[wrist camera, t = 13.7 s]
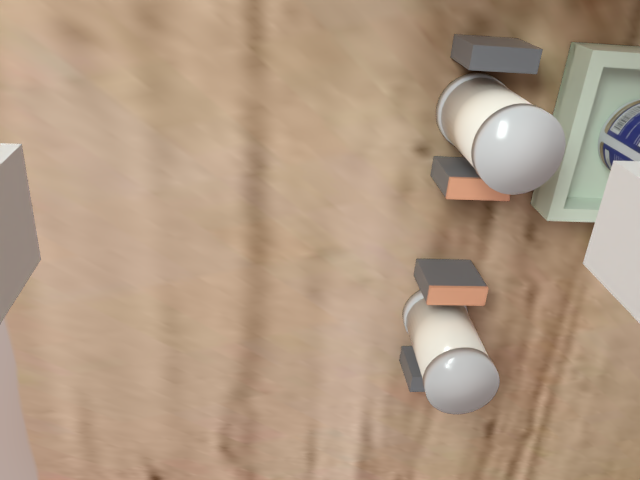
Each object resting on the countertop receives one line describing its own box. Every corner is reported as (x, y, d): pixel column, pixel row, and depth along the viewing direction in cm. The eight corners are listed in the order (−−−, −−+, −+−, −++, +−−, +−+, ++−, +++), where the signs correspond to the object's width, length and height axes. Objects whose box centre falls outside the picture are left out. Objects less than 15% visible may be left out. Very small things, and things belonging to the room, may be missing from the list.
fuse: (442, 70, 42) (486, 105, 34) (515, 74, 42) (575, 110, 34) (430, 143, 44) (469, 193, 36) (499, 147, 45) (552, 195, 37)
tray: (571, 41, 42) (593, 50, 39) (733, 52, 43) (764, 61, 40) (530, 203, 47) (546, 220, 44) (675, 208, 48) (699, 225, 46)
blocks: (454, 34, 41) (475, 45, 37) (517, 38, 41) (544, 50, 37) (399, 360, 53) (410, 394, 49) (448, 360, 53) (463, 394, 50)
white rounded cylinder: (414, 280, 49) (440, 350, 41) (474, 292, 50) (511, 363, 42) (394, 331, 51) (415, 408, 44) (451, 342, 52) (482, 419, 44)
